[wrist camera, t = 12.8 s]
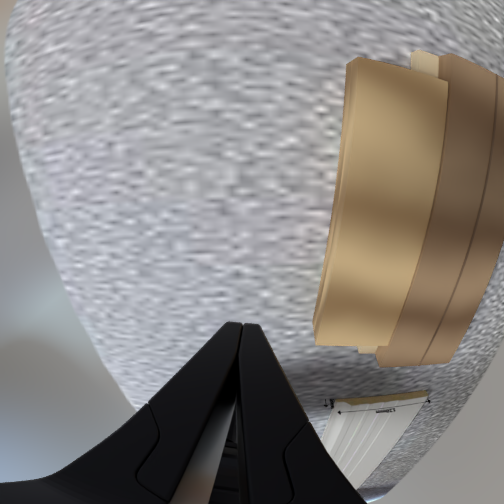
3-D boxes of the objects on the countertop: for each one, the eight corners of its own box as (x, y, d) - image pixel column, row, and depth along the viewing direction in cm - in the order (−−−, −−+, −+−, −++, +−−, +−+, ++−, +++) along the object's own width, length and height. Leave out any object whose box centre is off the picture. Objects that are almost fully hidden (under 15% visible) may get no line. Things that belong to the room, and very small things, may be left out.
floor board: (437, 341, 23) (449, 363, 20) (356, 343, 23) (363, 368, 20) (503, 91, 13) (528, 92, 10) (411, 52, 13) (431, 45, 11)
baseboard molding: (290, 488, 41) (355, 483, 40) (290, 501, 38) (356, 496, 37) (320, 394, 27) (424, 385, 26) (323, 418, 24) (432, 404, 24)
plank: (378, 322, 22) (387, 345, 20) (312, 320, 22) (315, 345, 20) (426, 84, 14) (448, 82, 12) (345, 64, 14) (358, 56, 12)
